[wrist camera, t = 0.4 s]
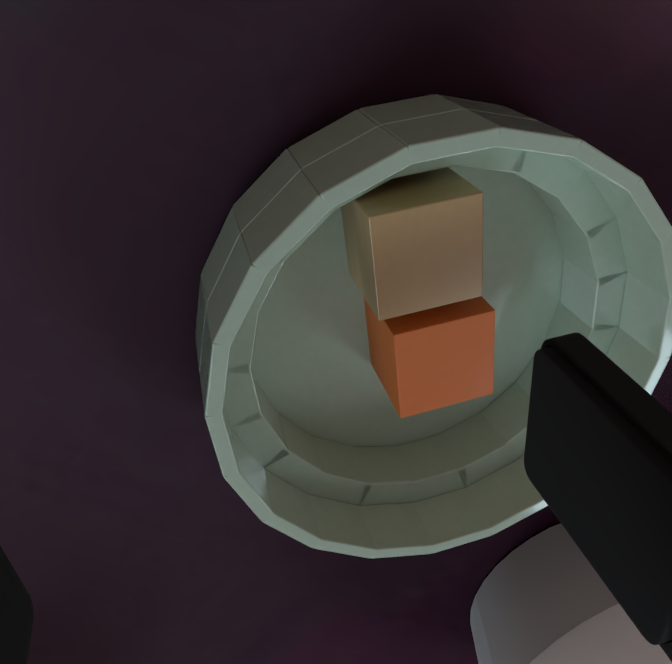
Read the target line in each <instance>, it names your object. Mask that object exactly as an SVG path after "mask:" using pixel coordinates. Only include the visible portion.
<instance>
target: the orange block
mask: <svg viewBox="0 0 672 664" xmlns="http://www.w3.org/2000/svg"><path fill="white" fill-rule="evenodd" d="M364 305H365V314H366V323H367V332H368V341H369V350H370V359H371V365H372V367H373V368H374V370H375V372H376V374H377V376H378V378H379V379H380V381H381V383H382V385H383V387H384V389H385V390H386V392H387V394H388V396H389V398H390V400H391V402H392V403H393V405H394V407H395V409H396V411H397V413H398V414H399V416H400V418H404V417H408V416H412V415H416V414H419V413H423V412H427V411H431V410H434V409H438V408H442V407H445V406H449V405H453V404H457V403H460V402H464V401H468V400H472V399H475V398H479V397H483V396H487V395H490V394H493V393H494V341H495V310H494V309H493V307H492V306H491V305H490V304H489V303H488V302H487V301H486V300H485V299H484V298H483V297H482V296H480V297H476V298H472V299H468V300H464V301H460V302H455V303H451V304H447V305H443V306H439V307H435V308H431V309H427V310H422V311H418V312H414V313H410V314H406V315H402V316H398V317H394V318H390V319H385V320H381V321H379V320H378V319H377V317H376V316H375V314H374V312H373V311H372V309H371V308H370V306H369V304H368V303H367V301H366V300H365V298H364Z"/></svg>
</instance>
